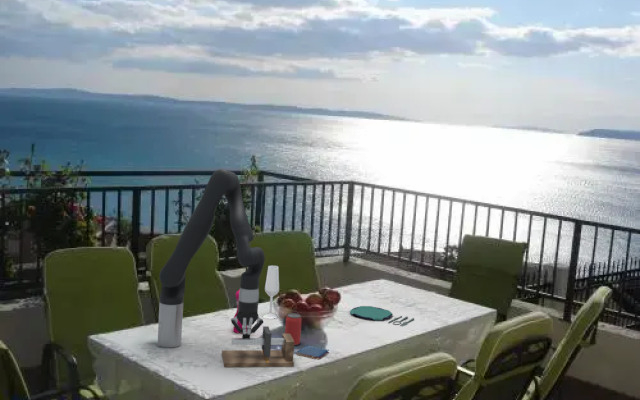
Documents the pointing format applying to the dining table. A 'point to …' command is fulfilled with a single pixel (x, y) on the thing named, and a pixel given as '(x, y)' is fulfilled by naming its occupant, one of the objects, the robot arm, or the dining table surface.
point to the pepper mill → (236, 314)
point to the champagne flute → (272, 287)
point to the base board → (261, 356)
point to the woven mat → (312, 352)
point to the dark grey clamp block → (266, 341)
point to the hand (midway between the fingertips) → (245, 343)
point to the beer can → (294, 327)
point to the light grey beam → (257, 341)
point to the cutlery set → (376, 314)
